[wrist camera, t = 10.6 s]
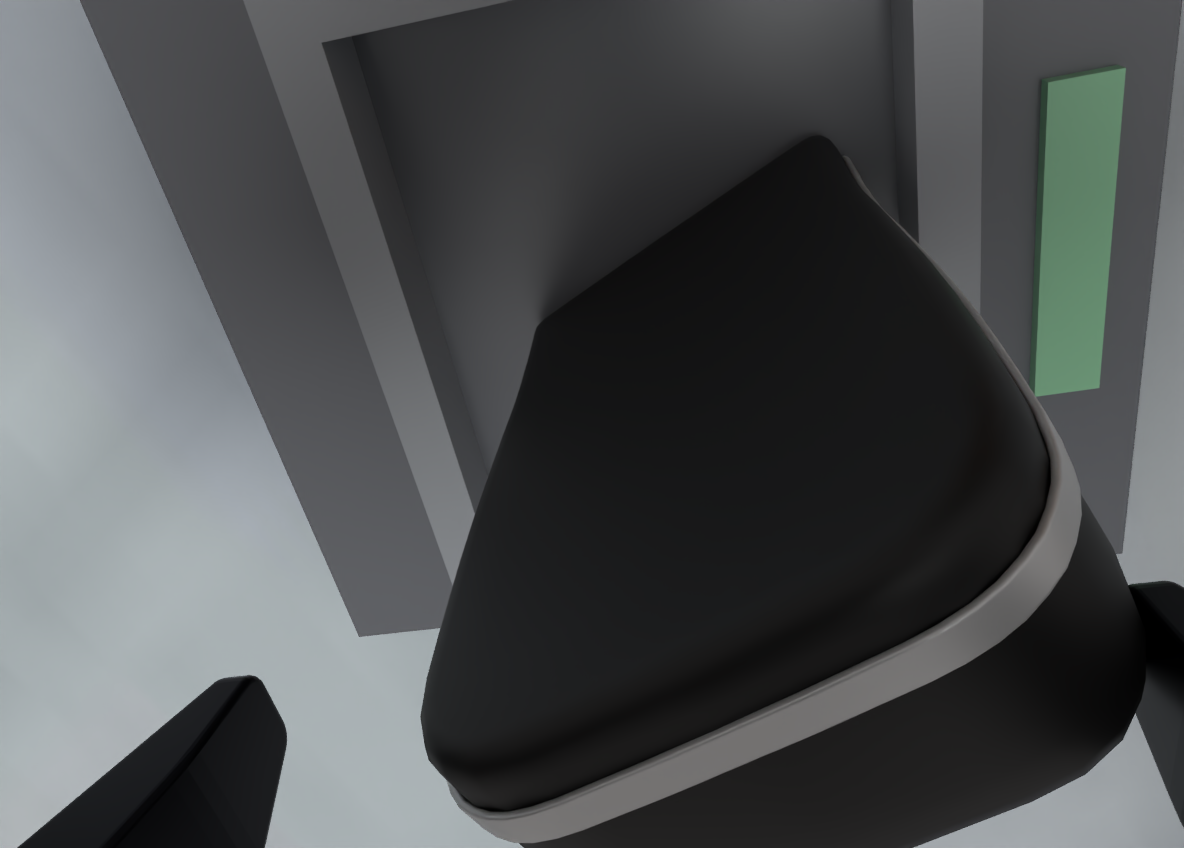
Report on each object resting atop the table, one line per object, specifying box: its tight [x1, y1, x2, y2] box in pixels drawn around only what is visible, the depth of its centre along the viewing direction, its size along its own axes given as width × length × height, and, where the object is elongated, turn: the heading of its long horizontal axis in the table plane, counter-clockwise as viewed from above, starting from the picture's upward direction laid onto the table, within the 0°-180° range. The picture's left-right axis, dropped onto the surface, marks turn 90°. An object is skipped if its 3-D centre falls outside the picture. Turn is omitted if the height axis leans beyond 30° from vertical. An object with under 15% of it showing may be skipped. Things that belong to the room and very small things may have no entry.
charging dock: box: [80, 0, 1182, 637], centre depth 17 cm, size 18×15×2 cm
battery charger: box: [420, 135, 1146, 848], centre depth 13 cm, size 7×4×11 cm, turn 127°
